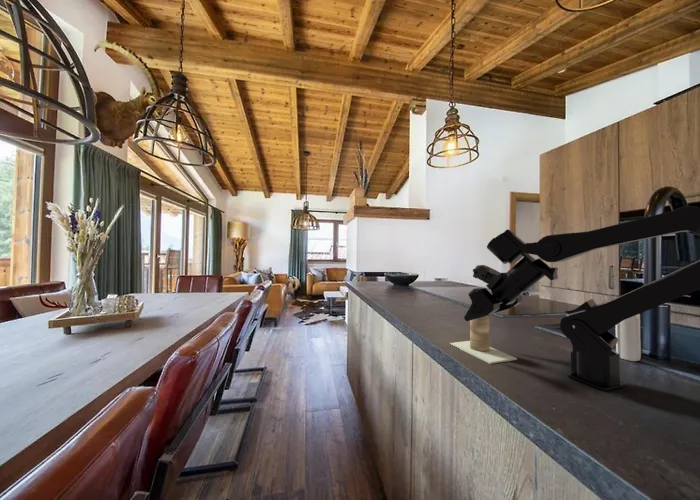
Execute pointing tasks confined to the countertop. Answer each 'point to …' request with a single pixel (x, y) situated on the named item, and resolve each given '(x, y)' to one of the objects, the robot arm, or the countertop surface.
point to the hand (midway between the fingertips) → (473, 317)
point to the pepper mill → (480, 334)
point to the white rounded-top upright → (629, 338)
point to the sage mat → (485, 353)
